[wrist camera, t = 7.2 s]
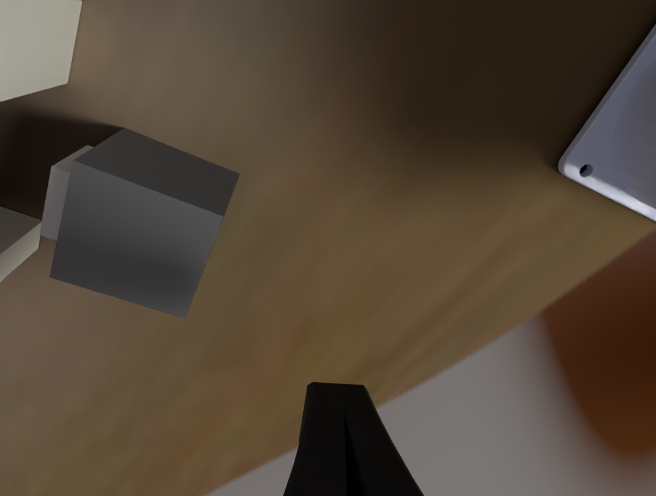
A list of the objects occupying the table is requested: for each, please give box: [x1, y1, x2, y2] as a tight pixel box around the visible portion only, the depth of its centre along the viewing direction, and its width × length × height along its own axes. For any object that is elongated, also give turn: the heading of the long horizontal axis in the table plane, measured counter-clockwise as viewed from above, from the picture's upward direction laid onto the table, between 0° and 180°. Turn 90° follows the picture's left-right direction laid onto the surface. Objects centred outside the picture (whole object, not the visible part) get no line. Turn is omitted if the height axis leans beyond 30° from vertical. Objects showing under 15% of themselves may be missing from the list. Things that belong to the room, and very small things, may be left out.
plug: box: [40, 128, 240, 318], centre depth 15 cm, size 5×4×4 cm
